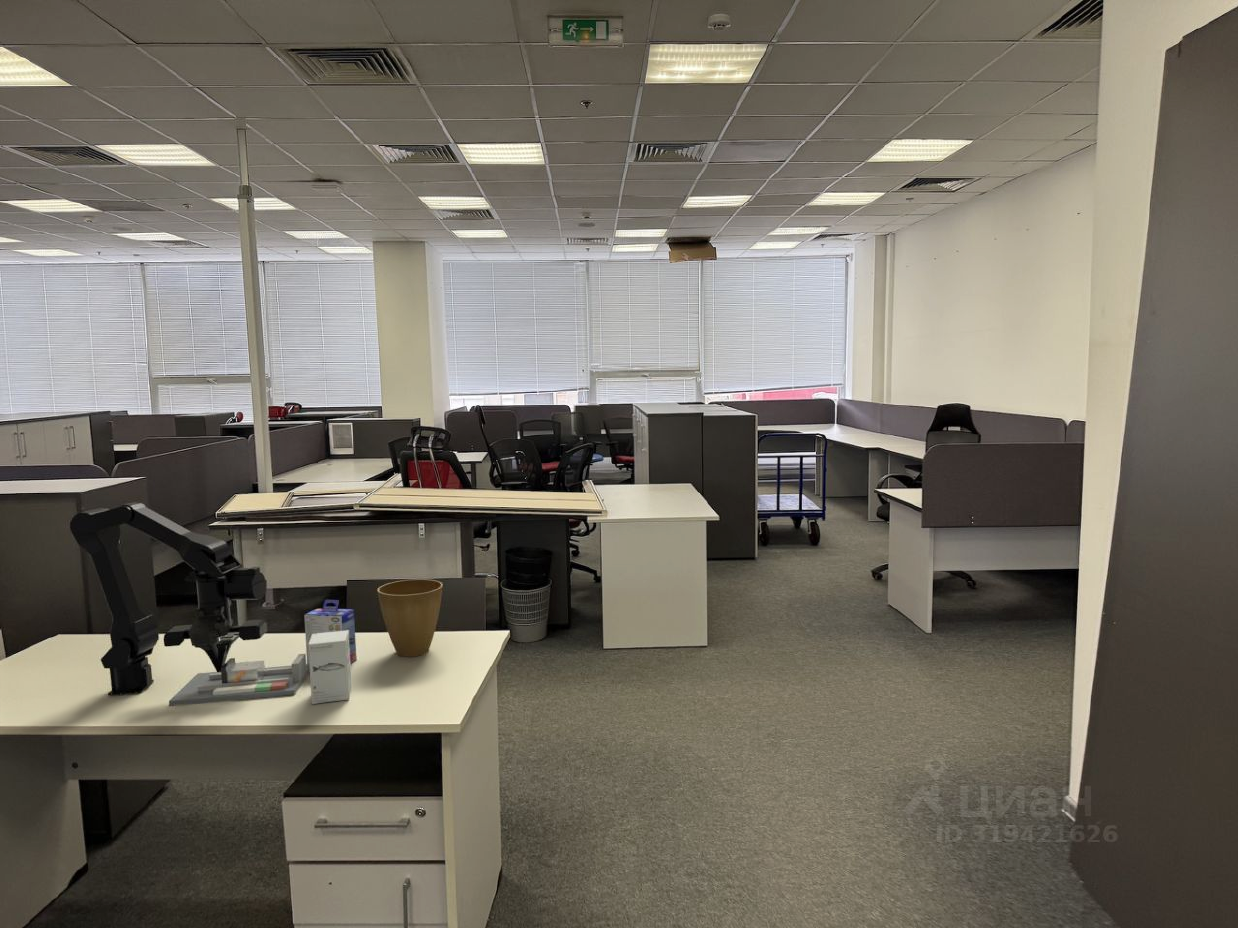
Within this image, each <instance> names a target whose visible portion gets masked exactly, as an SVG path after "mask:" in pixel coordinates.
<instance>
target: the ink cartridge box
mask: <svg viewBox="0 0 1238 928" xmlns="http://www.w3.org/2000/svg"><path fill="white" fill-rule="evenodd" d="M331 603H332V604H334V606H331V605H327V604H331ZM339 604H340V600H339V599H325V600H324V603H323V606H322V608H316V609H313V610H311V611H308V612H307V613H305V614H304V615H303V616H304V617H303V618H304V632H305V634H304V635H305V649H306V650H305V651H306V653H305V654H306V664H309V647H308V644H309V641H310V639H311V636H312V634H316V633H326V632H337V631H346V630H349V647H350V664H352V663H354V662H356V661H357V642H356V629H355V628H356V626H355V610H354V608H353V609H349V608H339ZM355 660H356V661H355Z"/></svg>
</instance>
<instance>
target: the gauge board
mask: <svg viewBox="0 0 1238 928" xmlns="http://www.w3.org/2000/svg"><path fill="white" fill-rule="evenodd" d="M309 674H310V665H309V664H307V654H306V653H299V654H297V656H296V658H295V659H294V660H293V661H292V663H291V665H284V666H283V665H282V666H270V667H269V666H268V667H265V675H264V676H263V677H262V678H261V680H258V681H246V682H235V683H223V684H222V677H221V672H217V671H212V672H210V671H209V672H200V673H199V672H198V673H196V674H195V675H194V677H192V678H191V679H190V680H189V681H188V682H186V684H185V685H184V686H183V687H182V688H181V689H180V690H178V691H177V693H176V694H174V696H173V697H171V698H170V700H169V701H168V705H169V706H170V707H173V706H181V705H182V706H183V705H193V704H195V705H196V704H204V703H214V702H215V703H217V702H228V701H238V700H249V699H250V700H251V699H261V698H270V697H283V696H294V695H296V694H297V692H298V690H299V689H300V687H301V686H302V684H303V682H304V681H305V680H306V678H307V676H308V675H309Z"/></svg>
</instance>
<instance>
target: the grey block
mask: <svg viewBox="0 0 1238 928" xmlns="http://www.w3.org/2000/svg"><path fill="white" fill-rule="evenodd" d="M265 664H266V663H265V660H255V661H253V660H252V661H242V662H241V661H239V662H236V657H231V658H229V659H227V660H226V661H225V664H224V665H223V666H222V667H221V677H222V684H223V683H235V682H246V681H258V680H261V678H262V677H263V676H264V675H265V668H266V667H265Z"/></svg>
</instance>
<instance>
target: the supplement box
mask: <svg viewBox="0 0 1238 928" xmlns="http://www.w3.org/2000/svg"><path fill="white" fill-rule="evenodd" d="M308 647H309V665H310V672H309V674H310V675H309V676H310V680H309V681H310V694H311V696H310V697H311V705H316V704H321V703H322V704H323V703H331V702H337V701H348V700H350V695H351V690H352V671H351V670H352V668H351V666H352V665H351V664H352V663H350V647H349V630H346V631H337V632H326V633H316V634H312V636H311V639H310V641H309V644H308Z"/></svg>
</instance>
